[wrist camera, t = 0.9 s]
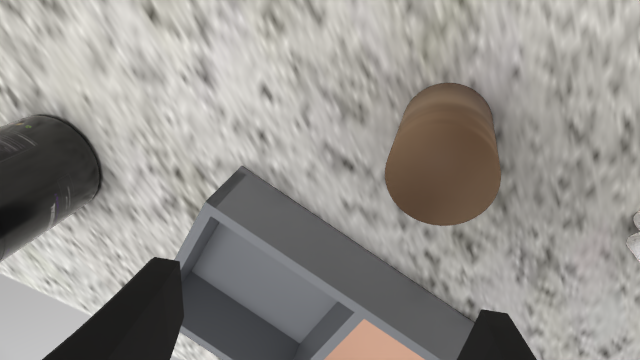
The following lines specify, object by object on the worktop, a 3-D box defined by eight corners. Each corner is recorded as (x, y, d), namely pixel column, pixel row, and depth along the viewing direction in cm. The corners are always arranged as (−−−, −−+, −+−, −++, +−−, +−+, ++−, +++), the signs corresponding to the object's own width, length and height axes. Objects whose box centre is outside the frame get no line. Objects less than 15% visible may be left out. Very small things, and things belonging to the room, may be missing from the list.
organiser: (514, 350, 28) (522, 414, 24) (416, 421, 33) (410, 484, 29) (241, 165, 28) (205, 201, 24) (184, 267, 33) (147, 310, 29)
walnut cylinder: (512, 116, 22) (527, 168, 17) (454, 181, 25) (451, 244, 19) (437, 65, 22) (428, 101, 17) (385, 134, 24) (364, 185, 19)
